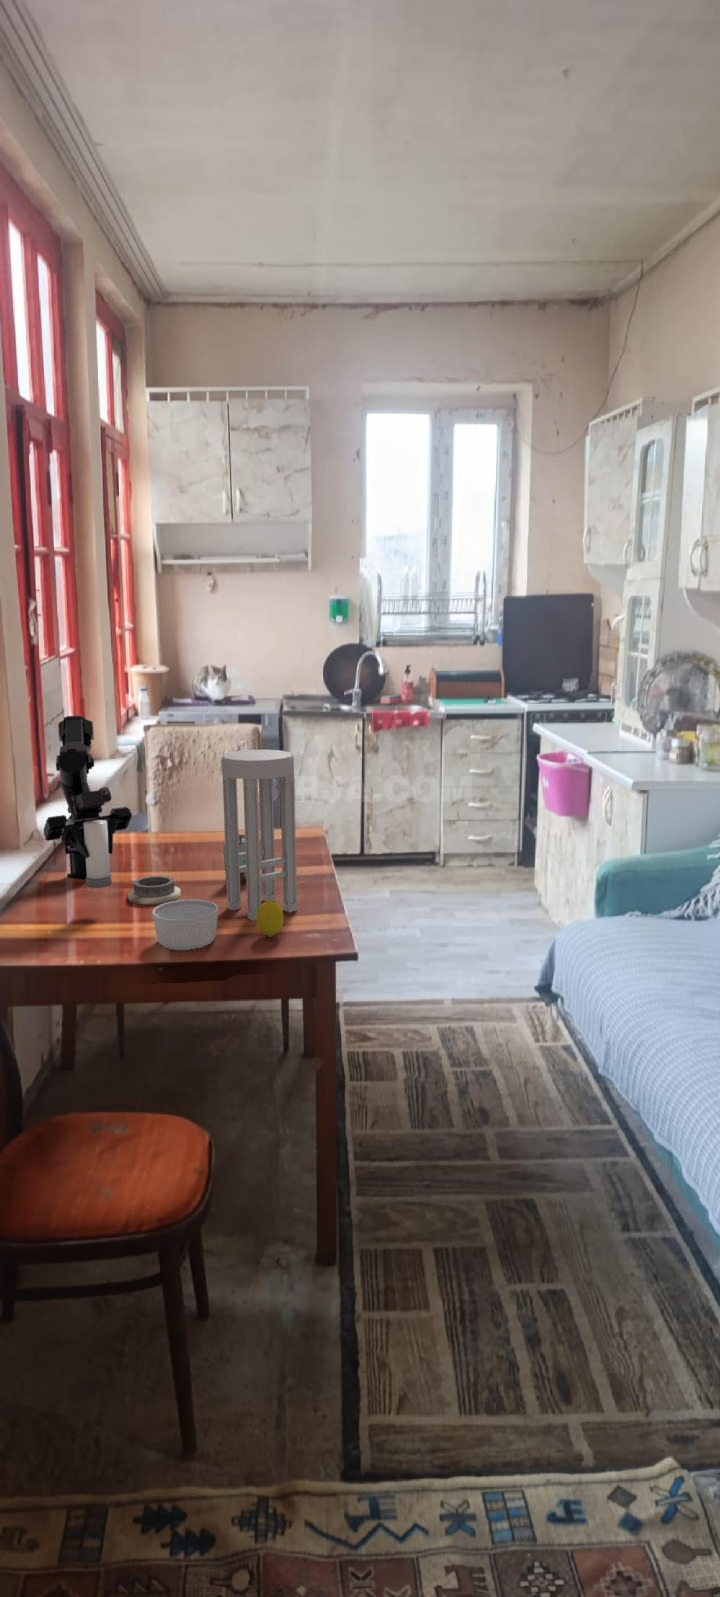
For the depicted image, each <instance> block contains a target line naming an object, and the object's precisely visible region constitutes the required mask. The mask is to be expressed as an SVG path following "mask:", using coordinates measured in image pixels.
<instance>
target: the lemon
mask: <svg viewBox="0 0 720 1597" xmlns="http://www.w3.org/2000/svg"><path fill="white" fill-rule="evenodd" d="M283 912H284V911H283V908H282V907H281V905H280V904H279V903H278V902H276V901H272V900H268V901H266V902H265V901H263V903H261V905H260V907H259V908H258V911H257V917H256V920H255V921H256V925H257V927H258V930H259V931H260V932H261V933H263V935H266V936H267V937H269V938H272V937H273V936H274V935H276V934H278V933H280V932H281V930H282V928H283V926H284V919H285V918H284V913H283Z"/></svg>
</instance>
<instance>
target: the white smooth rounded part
mask: <svg viewBox="0 0 720 1597" xmlns="http://www.w3.org/2000/svg"><path fill="white" fill-rule="evenodd" d="M83 824H84V839H85V845H86V848H87V850H88V854H89V856H88V858H86V870H87V876H86V879H85V882H86V883H85V884H86V887H89V888H92V889H95V888H96V889H98V888H106V887H109V886H111V885H112V884H113V882H112V873H111V867H110V865H111V864H110V853H109V845H108V828H107V821H104V820H92V821H87V822H84V823H83Z"/></svg>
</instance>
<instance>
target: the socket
mask: <svg viewBox="0 0 720 1597" xmlns="http://www.w3.org/2000/svg"><path fill="white" fill-rule="evenodd" d="M132 885H133V888H132V889H131V890H129V891H128V893H127V898H128V901H129V902H131V903H133V904H137V905H148V906H149V905H161V904H164V903H168V902H172V901H178V900H179V899H180V898H181V894H182V893H181V888H180V887H179V886H175V878H173V877H171V876H165V875H153V876H152V875H150V876H145V877H140V878H137V879H136V880H134V881H133V884H132Z"/></svg>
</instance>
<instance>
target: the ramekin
mask: <svg viewBox="0 0 720 1597" xmlns="http://www.w3.org/2000/svg"><path fill="white" fill-rule="evenodd" d="M151 913H152V914H151V918H152V921H153V923H154V929H155V930H154V931H155V936H156V939H157V941H158V944H160V945H161V946H162V947H163V948H165V949H167V948H169V949H168V950H172V949H173V950H174V951H191V949H193V950H197V949H196V948H198V949H202V948H205V947H206V945H207V946H208V944H209V945H210V944H211V943H213V941H214V940H215V937H216V935H217V928H218V927H217V926H218V916H219V906H218V905H217V904H216V903H215V902H212V901H209V900H203V899H177V900H174V901H171V902H168V903H162V904H158V905H157V906H155V908H154V909H152V911H151ZM204 946H205V947H204Z"/></svg>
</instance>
